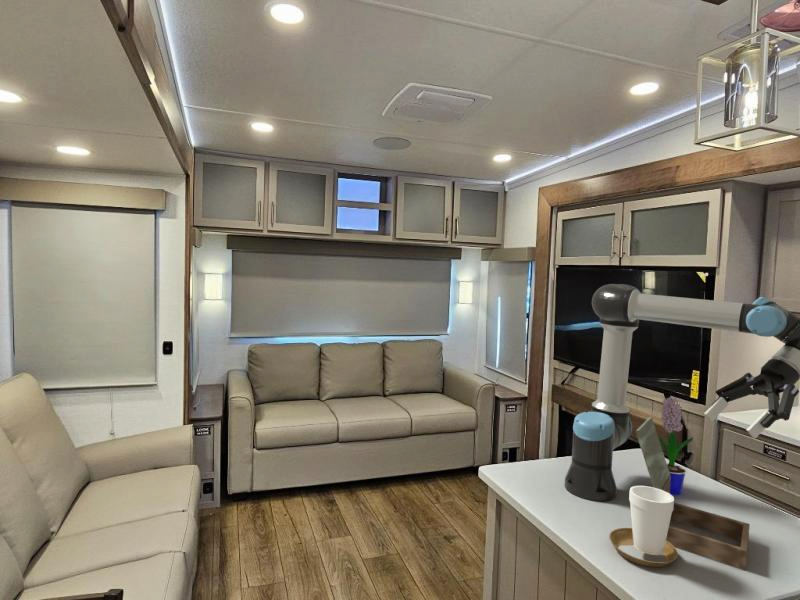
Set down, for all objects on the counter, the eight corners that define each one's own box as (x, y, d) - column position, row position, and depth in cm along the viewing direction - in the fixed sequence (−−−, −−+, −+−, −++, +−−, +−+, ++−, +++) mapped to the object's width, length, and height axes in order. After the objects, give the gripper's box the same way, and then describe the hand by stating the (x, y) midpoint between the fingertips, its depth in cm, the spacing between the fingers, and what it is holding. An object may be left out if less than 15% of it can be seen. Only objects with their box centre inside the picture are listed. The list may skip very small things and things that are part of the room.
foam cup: (657, 563, 107) (660, 506, 106) (618, 543, 114) (621, 490, 114) (678, 551, 112) (681, 497, 112) (640, 533, 120) (643, 482, 119)
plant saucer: (691, 567, 111) (692, 556, 110) (643, 578, 106) (643, 567, 105) (640, 533, 124) (641, 524, 124) (595, 542, 120) (595, 532, 119)
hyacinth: (695, 499, 145) (702, 402, 144) (659, 494, 147) (665, 399, 146) (684, 486, 154) (691, 395, 152) (650, 482, 156) (656, 392, 154)
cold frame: (629, 531, 124) (635, 429, 123) (642, 509, 137) (648, 416, 136) (745, 570, 109) (753, 454, 108) (748, 541, 122) (756, 437, 121)
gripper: (843, 390, 110) (781, 453, 109) (752, 368, 135) (700, 420, 134) (825, 367, 110) (762, 431, 109) (737, 350, 134) (684, 401, 133)
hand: (728, 425), depth 121 cm, fingers open, 13 cm apart
